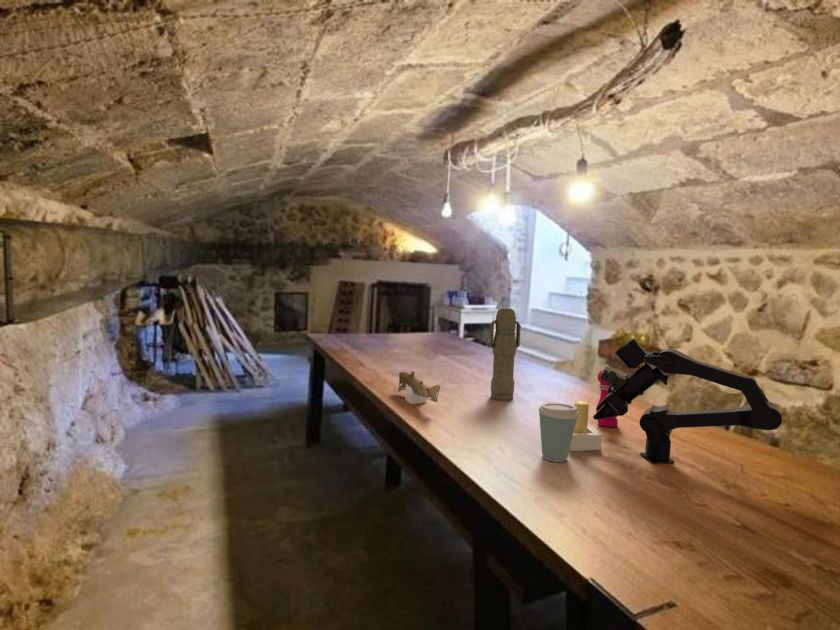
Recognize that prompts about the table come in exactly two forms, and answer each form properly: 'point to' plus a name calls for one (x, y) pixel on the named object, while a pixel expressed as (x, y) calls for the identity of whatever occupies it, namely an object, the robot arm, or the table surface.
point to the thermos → (504, 353)
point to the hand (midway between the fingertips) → (595, 413)
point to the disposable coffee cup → (557, 430)
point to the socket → (586, 440)
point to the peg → (581, 417)
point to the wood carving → (416, 389)
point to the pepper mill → (604, 392)
